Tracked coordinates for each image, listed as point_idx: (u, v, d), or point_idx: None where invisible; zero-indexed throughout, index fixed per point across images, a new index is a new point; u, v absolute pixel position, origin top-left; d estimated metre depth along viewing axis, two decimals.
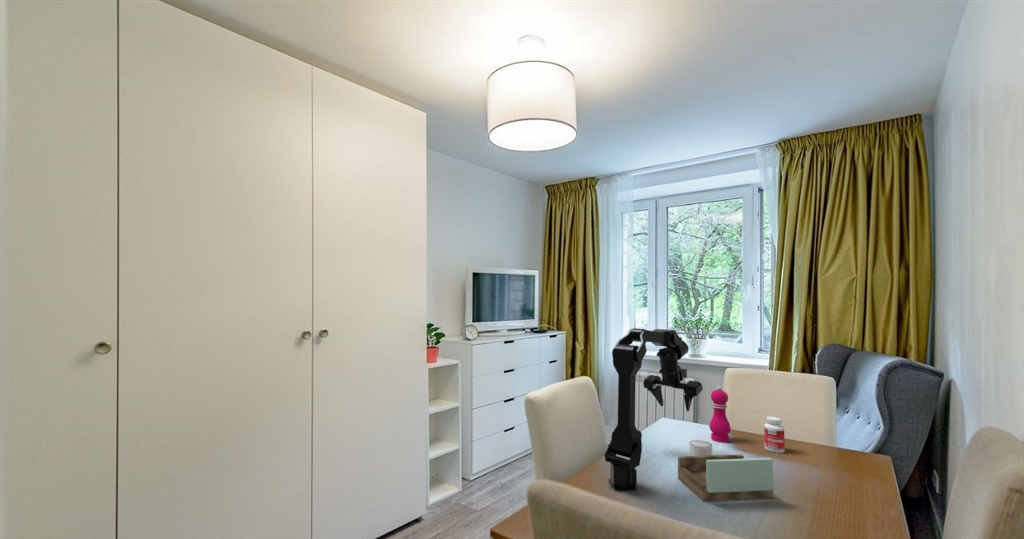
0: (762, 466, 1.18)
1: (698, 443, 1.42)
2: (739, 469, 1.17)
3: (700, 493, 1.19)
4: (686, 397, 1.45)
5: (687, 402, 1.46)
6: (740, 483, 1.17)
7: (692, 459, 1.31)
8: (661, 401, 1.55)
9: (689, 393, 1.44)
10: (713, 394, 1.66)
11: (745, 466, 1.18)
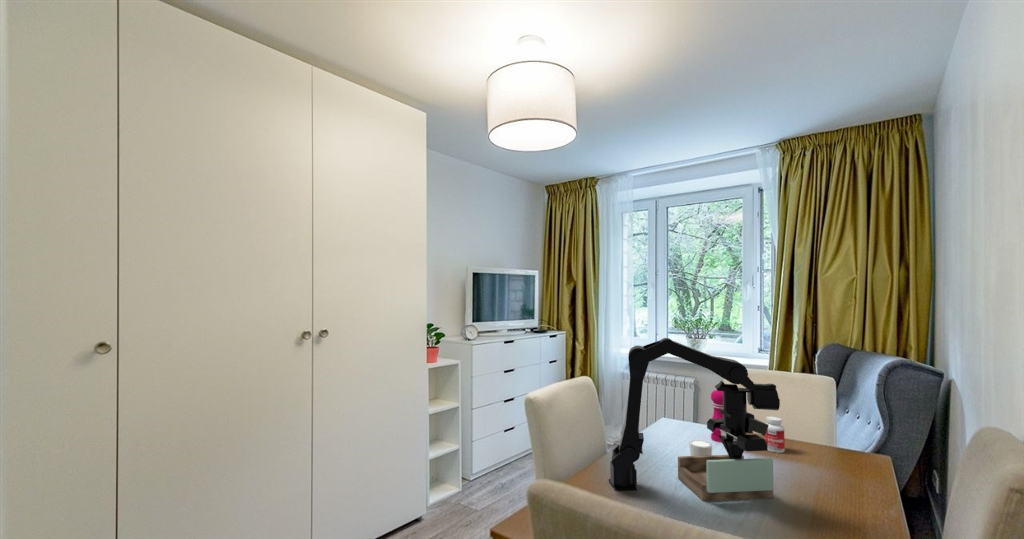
0: (762, 466, 1.18)
1: (698, 443, 1.42)
2: (739, 470, 1.17)
3: (700, 493, 1.19)
4: (728, 444, 1.19)
5: (730, 452, 1.19)
6: (740, 483, 1.17)
7: (692, 459, 1.31)
8: (734, 458, 1.20)
9: (740, 445, 1.13)
10: (713, 394, 1.66)
11: (745, 466, 1.18)
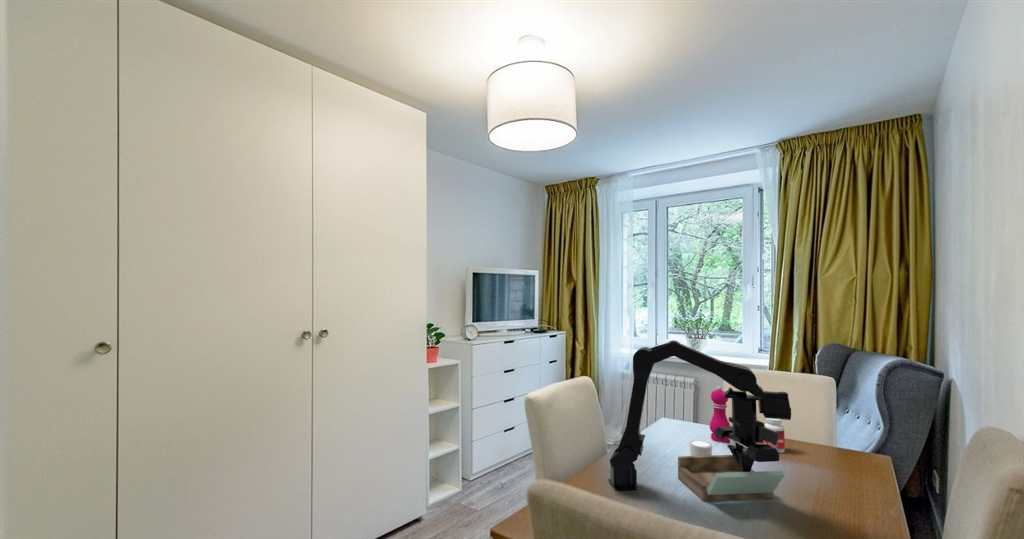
0: (771, 479, 1.15)
1: (698, 443, 1.42)
2: (746, 481, 1.14)
3: (700, 493, 1.19)
4: (738, 454, 1.14)
5: (740, 462, 1.14)
6: (743, 489, 1.16)
7: (692, 459, 1.31)
8: None
9: (751, 456, 1.08)
10: (713, 394, 1.66)
11: (754, 479, 1.14)
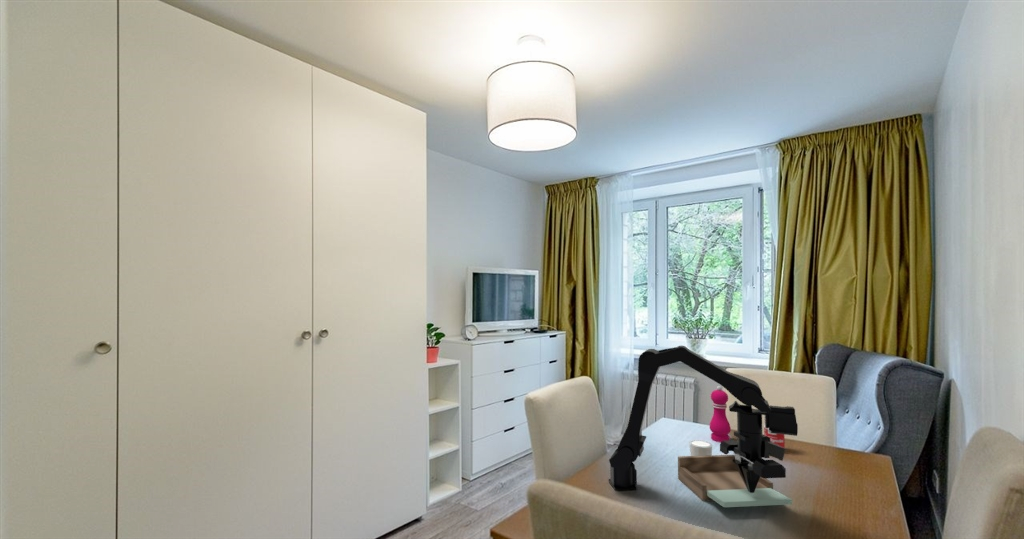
0: None
1: (698, 443, 1.42)
2: None
3: (700, 493, 1.19)
4: (743, 469, 1.12)
5: (746, 477, 1.12)
6: None
7: (692, 459, 1.31)
8: None
9: (757, 471, 1.06)
10: (713, 394, 1.66)
11: None
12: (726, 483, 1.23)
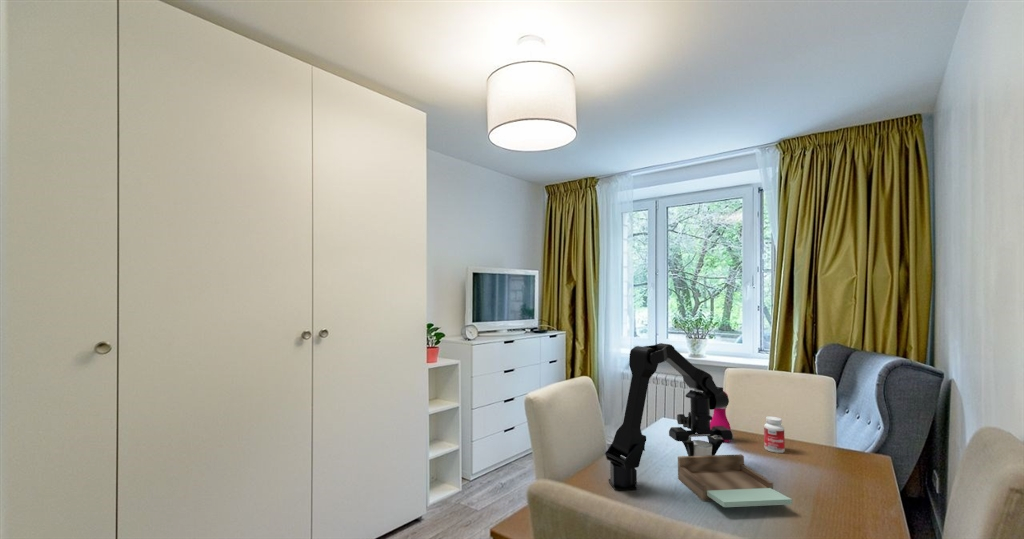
0: None
1: (698, 443, 1.42)
2: None
3: (700, 493, 1.19)
4: (719, 443, 1.40)
5: (717, 449, 1.40)
6: None
7: (692, 459, 1.31)
8: None
9: (727, 437, 1.40)
10: None
11: None
12: (726, 483, 1.23)
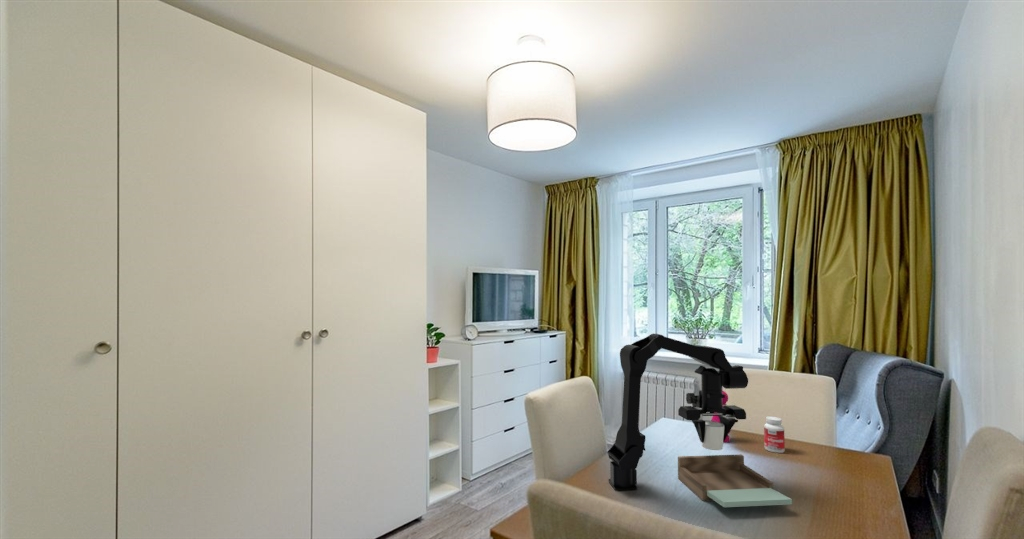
0: None
1: (709, 423, 1.33)
2: None
3: (700, 493, 1.19)
4: (731, 422, 1.31)
5: (729, 429, 1.31)
6: None
7: (692, 459, 1.31)
8: None
9: (740, 417, 1.31)
10: None
11: None
12: (726, 483, 1.23)
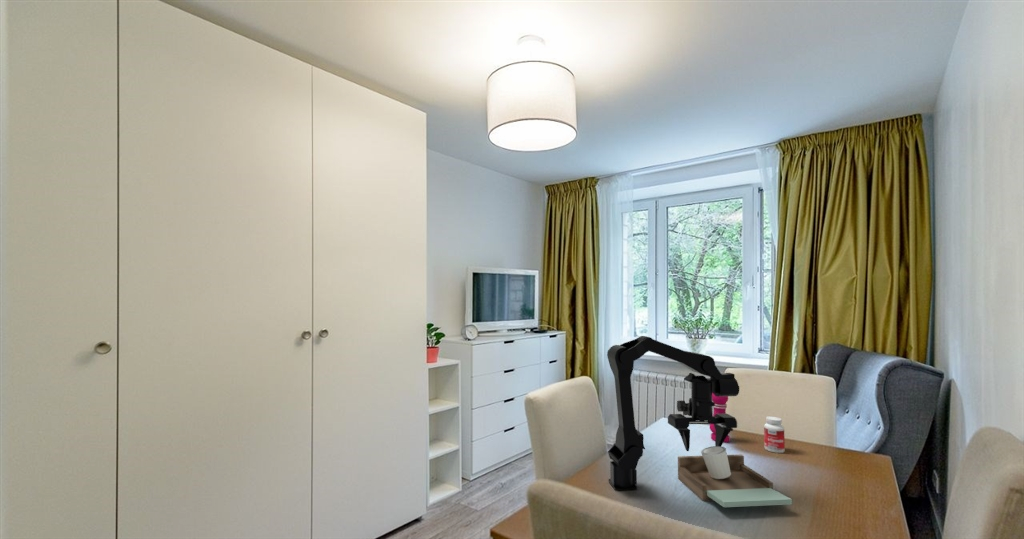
0: None
1: (711, 450, 1.28)
2: None
3: (700, 493, 1.19)
4: (726, 431, 1.28)
5: (724, 438, 1.29)
6: None
7: (692, 459, 1.31)
8: None
9: (731, 425, 1.28)
10: (713, 394, 1.66)
11: None
12: (726, 483, 1.23)
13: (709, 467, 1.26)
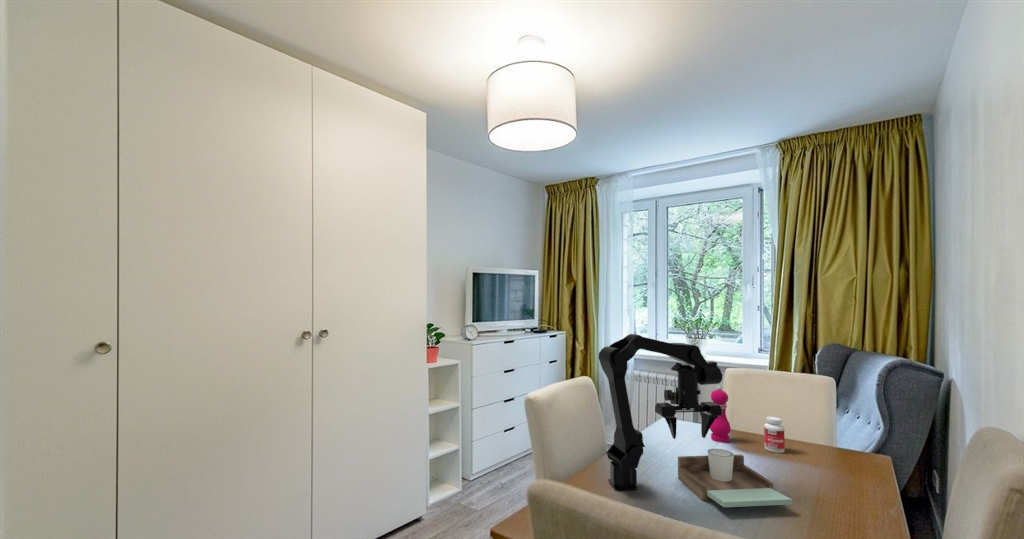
0: None
1: (718, 452, 1.27)
2: None
3: (700, 493, 1.19)
4: (712, 419, 1.32)
5: (710, 425, 1.32)
6: None
7: (692, 459, 1.31)
8: None
9: (716, 413, 1.32)
10: (713, 394, 1.66)
11: None
12: (726, 483, 1.23)
13: (712, 467, 1.26)
